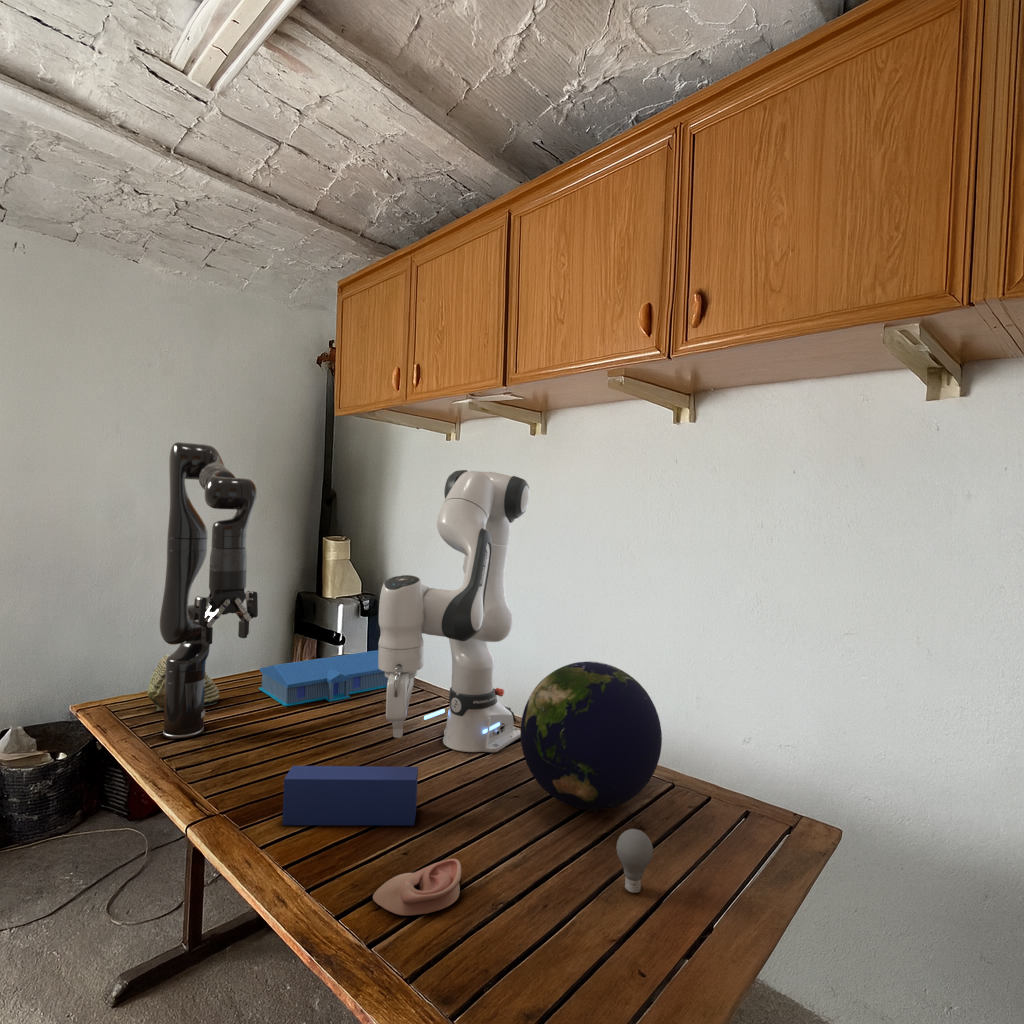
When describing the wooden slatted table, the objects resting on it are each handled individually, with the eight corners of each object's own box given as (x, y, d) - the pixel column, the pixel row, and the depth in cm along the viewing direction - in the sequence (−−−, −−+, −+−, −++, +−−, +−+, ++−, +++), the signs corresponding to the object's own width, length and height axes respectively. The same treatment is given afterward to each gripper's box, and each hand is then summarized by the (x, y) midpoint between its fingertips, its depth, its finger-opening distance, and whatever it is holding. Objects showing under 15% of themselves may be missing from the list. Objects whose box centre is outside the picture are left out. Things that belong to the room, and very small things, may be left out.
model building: (289, 709, 186) (291, 675, 185) (258, 688, 204) (259, 657, 204) (403, 687, 212) (405, 657, 212) (366, 670, 230) (368, 643, 230)
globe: (495, 817, 128) (501, 670, 127) (544, 763, 155) (549, 641, 155) (643, 855, 116) (651, 693, 116) (668, 789, 144) (674, 658, 144)
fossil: (144, 707, 182) (145, 655, 182) (212, 696, 194) (213, 647, 194) (151, 716, 175) (153, 662, 175) (221, 703, 188) (223, 653, 188)
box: (282, 825, 122) (284, 778, 121) (290, 809, 128) (292, 765, 128) (414, 825, 124) (416, 779, 124) (416, 810, 130) (418, 766, 130)
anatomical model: (365, 883, 98) (393, 844, 109) (364, 909, 98) (392, 867, 109) (447, 898, 95) (468, 857, 106) (446, 924, 95) (467, 880, 106)
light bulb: (610, 879, 108) (613, 822, 108) (644, 879, 109) (647, 822, 109) (619, 902, 102) (622, 840, 102) (655, 901, 103) (658, 840, 103)
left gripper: (208, 571, 132) (205, 649, 132) (266, 567, 144) (264, 638, 144) (187, 568, 136) (184, 643, 136) (245, 564, 148) (243, 633, 148)
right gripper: (413, 673, 116) (412, 748, 116) (420, 645, 136) (419, 709, 137) (378, 674, 115) (377, 748, 116) (390, 645, 136) (389, 709, 136)
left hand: (225, 640), depth 140 cm, fingers open, 8 cm apart
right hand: (400, 727), depth 126 cm, fingers open, 8 cm apart
